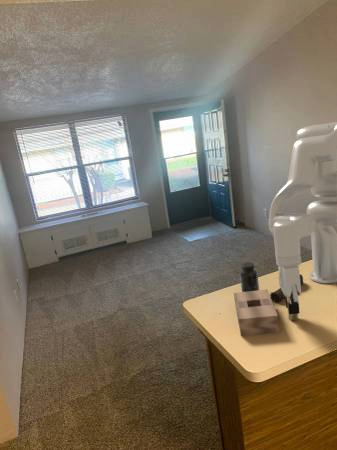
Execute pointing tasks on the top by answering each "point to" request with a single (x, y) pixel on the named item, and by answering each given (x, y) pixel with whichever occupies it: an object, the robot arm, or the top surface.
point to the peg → (292, 316)
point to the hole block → (256, 313)
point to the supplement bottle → (249, 277)
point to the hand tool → (281, 293)
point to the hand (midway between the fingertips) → (292, 310)
